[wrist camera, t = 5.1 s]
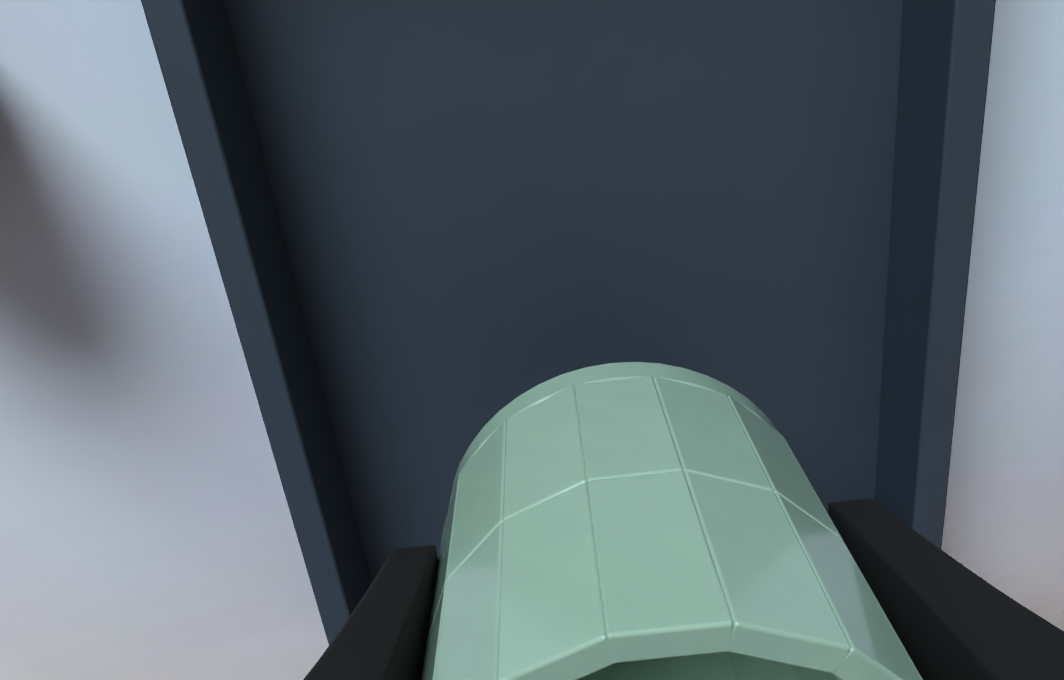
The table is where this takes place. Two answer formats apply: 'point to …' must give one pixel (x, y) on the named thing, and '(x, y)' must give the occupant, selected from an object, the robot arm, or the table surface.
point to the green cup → (646, 544)
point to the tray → (581, 229)
